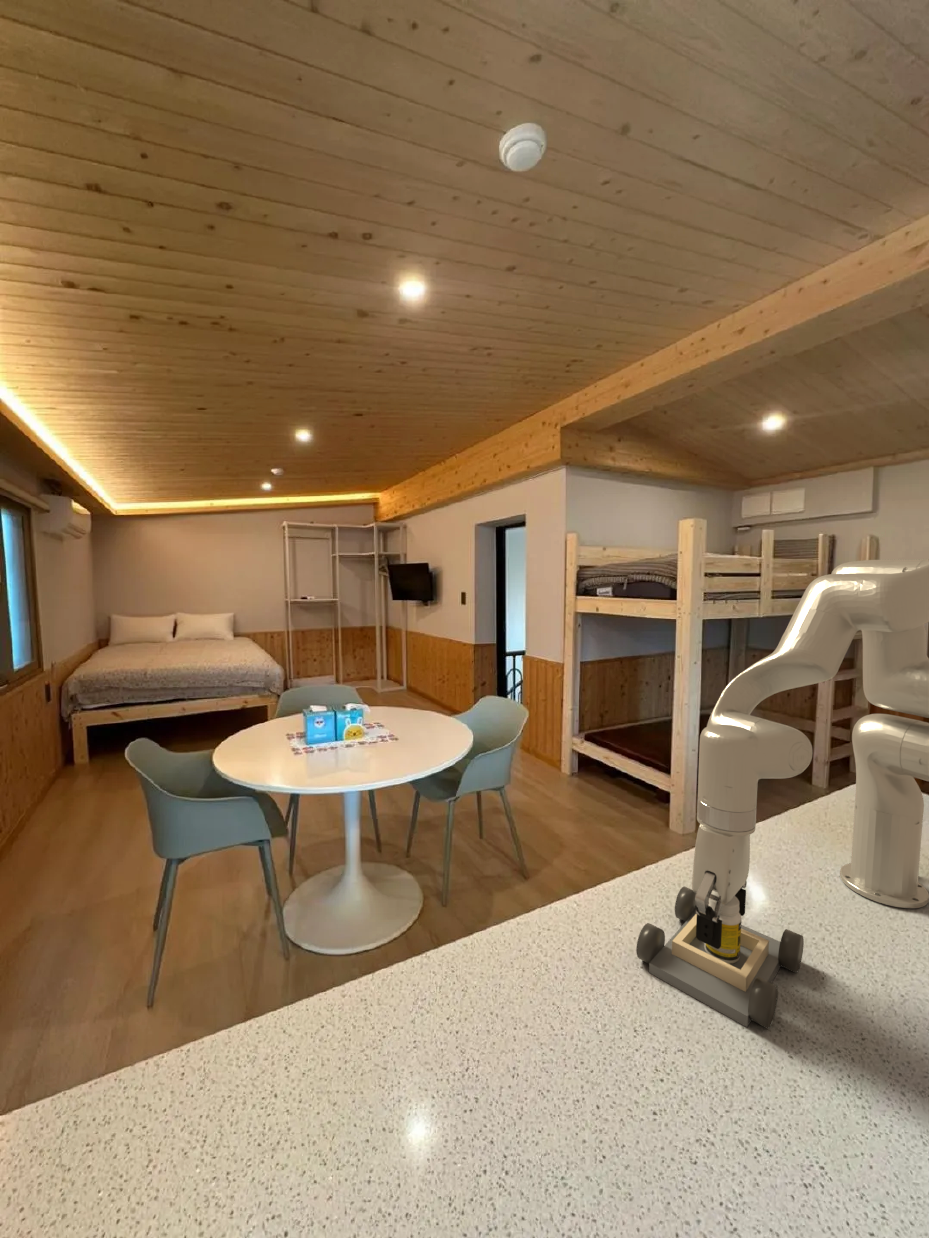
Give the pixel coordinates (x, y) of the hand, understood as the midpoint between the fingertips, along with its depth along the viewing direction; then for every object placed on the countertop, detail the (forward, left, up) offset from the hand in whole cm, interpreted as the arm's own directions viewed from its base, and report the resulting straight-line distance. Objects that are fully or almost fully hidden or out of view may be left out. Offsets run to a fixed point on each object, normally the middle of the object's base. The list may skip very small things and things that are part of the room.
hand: (721, 926), depth 77 cm
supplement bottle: (0, 0, -4) cm, 4 cm away
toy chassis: (0, 0, -6) cm, 6 cm away
